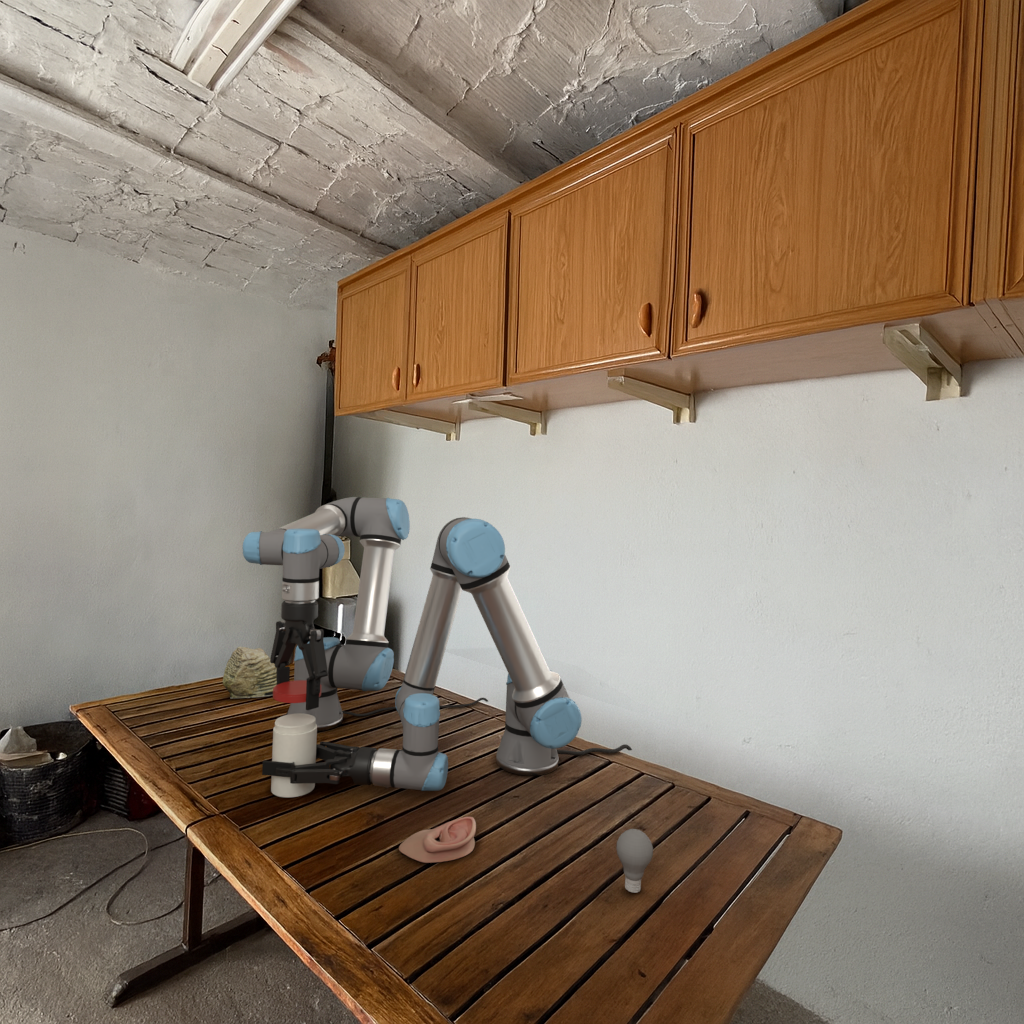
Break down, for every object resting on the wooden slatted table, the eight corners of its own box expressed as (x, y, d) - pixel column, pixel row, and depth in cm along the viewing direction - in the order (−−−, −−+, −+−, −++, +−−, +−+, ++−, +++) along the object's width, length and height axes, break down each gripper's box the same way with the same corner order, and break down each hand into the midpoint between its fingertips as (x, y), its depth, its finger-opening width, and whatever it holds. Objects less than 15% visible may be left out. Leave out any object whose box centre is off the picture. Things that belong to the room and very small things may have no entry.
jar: (270, 781, 140) (273, 714, 139) (313, 776, 143) (315, 711, 143) (271, 800, 131) (274, 729, 131) (316, 794, 135) (319, 725, 134)
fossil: (218, 695, 195) (220, 647, 195) (278, 685, 208) (279, 640, 207) (228, 703, 189) (230, 653, 188) (289, 692, 201) (290, 645, 201)
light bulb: (610, 879, 108) (613, 822, 108) (644, 879, 109) (647, 822, 109) (619, 902, 102) (622, 840, 102) (655, 901, 103) (658, 840, 103)
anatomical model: (392, 835, 112) (415, 805, 123) (391, 857, 112) (414, 825, 123) (465, 847, 109) (481, 815, 121) (464, 869, 109) (480, 835, 121)
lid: (293, 706, 130) (293, 697, 130) (262, 696, 136) (263, 688, 136) (331, 694, 139) (331, 686, 139) (301, 685, 144) (301, 677, 144)
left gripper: (254, 595, 140) (252, 694, 141) (317, 610, 127) (314, 720, 128) (284, 591, 146) (281, 687, 147) (348, 605, 133) (344, 710, 134)
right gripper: (357, 808, 125) (248, 798, 127) (388, 763, 146) (295, 755, 148) (358, 770, 125) (249, 761, 127) (390, 731, 146) (296, 723, 148)
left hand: (297, 702), depth 137 cm, fingers closed on lid, 10 cm apart
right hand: (274, 758), depth 138 cm, fingers closed on jar, 9 cm apart
